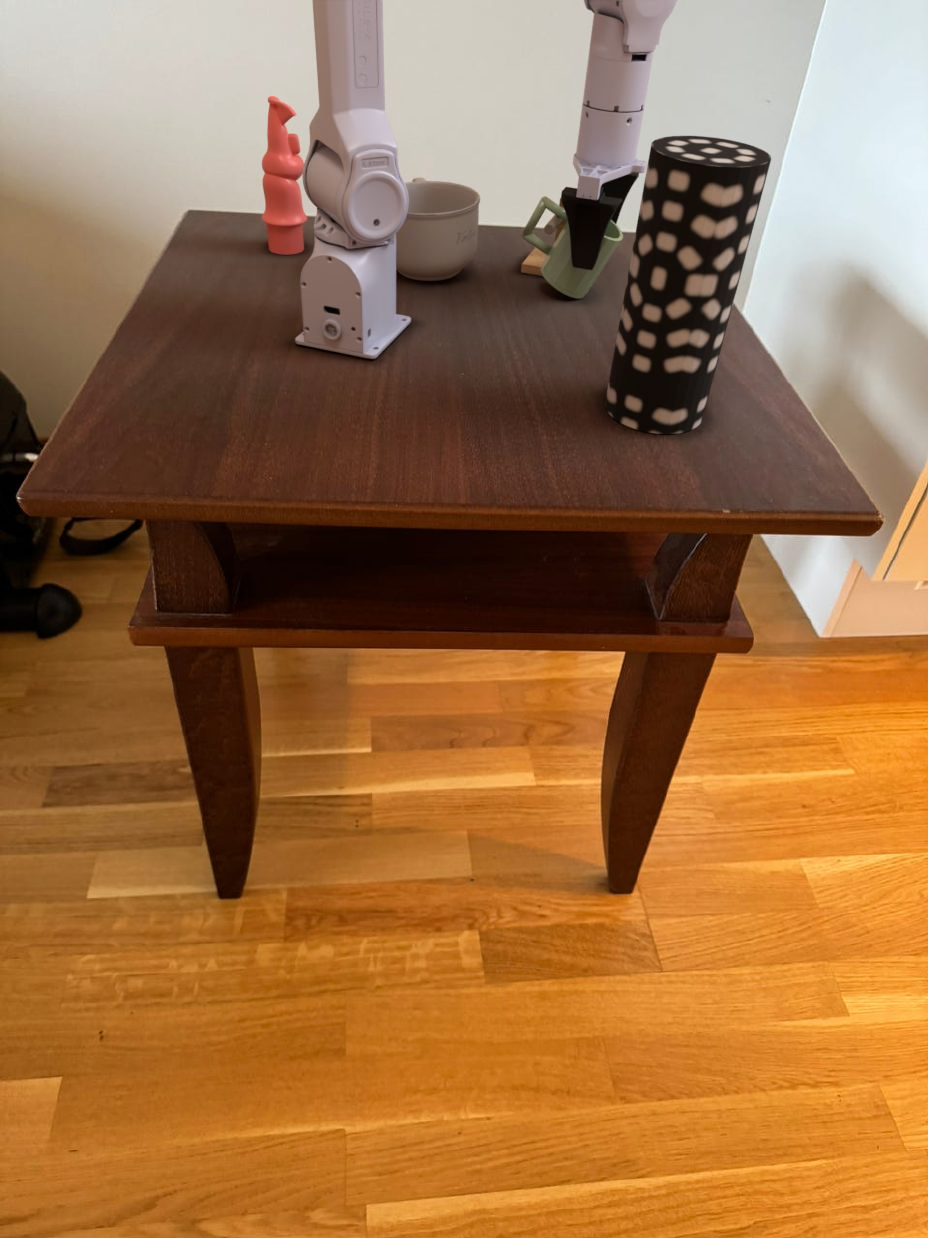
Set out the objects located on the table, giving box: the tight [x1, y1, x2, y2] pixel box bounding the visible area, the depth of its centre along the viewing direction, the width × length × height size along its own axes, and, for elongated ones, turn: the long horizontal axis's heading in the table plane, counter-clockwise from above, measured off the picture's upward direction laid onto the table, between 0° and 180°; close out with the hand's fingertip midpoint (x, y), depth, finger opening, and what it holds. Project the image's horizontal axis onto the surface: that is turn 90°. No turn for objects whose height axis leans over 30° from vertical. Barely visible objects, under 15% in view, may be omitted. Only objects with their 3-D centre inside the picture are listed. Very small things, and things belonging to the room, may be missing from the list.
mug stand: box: [520, 197, 566, 277], centre depth 93 cm, size 12×6×8 cm, turn 162°
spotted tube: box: [604, 135, 772, 435], centre depth 67 cm, size 8×8×20 cm
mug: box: [521, 195, 624, 299], centre depth 90 cm, size 9×6×7 cm, turn 71°
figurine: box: [261, 95, 308, 256], centre depth 93 cm, size 5×5×15 cm
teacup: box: [396, 177, 481, 282], centre depth 94 cm, size 14×11×8 cm
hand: (591, 255), depth 90 cm, fingers open, 7 cm apart
